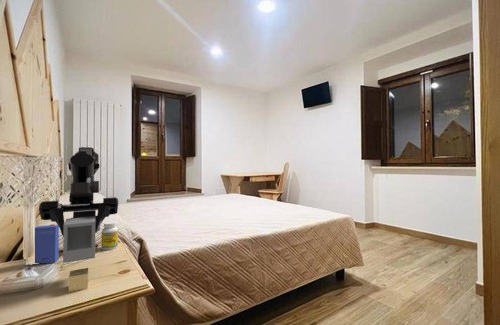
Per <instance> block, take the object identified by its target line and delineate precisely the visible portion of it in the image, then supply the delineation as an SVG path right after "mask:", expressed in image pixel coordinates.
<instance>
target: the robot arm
mask: <svg viewBox="0 0 500 325" xmlns="http://www.w3.org/2000/svg"><path fill="white" fill-rule="evenodd" d="M99 158H100V157H99V154H98V153H97V152H96V151H95V150H94V148H93V147H91V146H90V147H88V146H87V147H86V146H84V147H83V146H81V147H78V151H77V152H75V153H74V154H73V155H72V156H71V157H70V160H69V161H68V165H67V166H68V171H69V172H70V173H71V177H72V180H71V183H70V192H69V196H68V201H69V204H63V203H59V200H45V201H43V200H42V201H41V202H40V203H39V206H38V211H39V215H40V216H39V217H40V220H42V221H50V222H54V223H55V224H56V225H58V226H59V231H60V233H61V236H62V237H63V227H64V223H65V218H64V216H65V215H64V213H68V212H69V213H70V212H71V213H72V218H82V217H93V216H96V221H95V234H96V233H98V231H101V225H102V223H103V222H104V220H105V219H106V218H107V217H108V218H109V217H110V215H117V214H118V210H119V209H118V208H119V199H118V197H114V196H113V197H102V198H103V200H102V202H95V203H94V196H95V195H94V194H97V193H99V192H100V181H99V180H95V177H94V175H95V174H96V173H97V172H98V170H99V169H100V163H99V161H100V160H99ZM96 212H97V213H96ZM98 247H99V244H95V248H98Z"/></svg>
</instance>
